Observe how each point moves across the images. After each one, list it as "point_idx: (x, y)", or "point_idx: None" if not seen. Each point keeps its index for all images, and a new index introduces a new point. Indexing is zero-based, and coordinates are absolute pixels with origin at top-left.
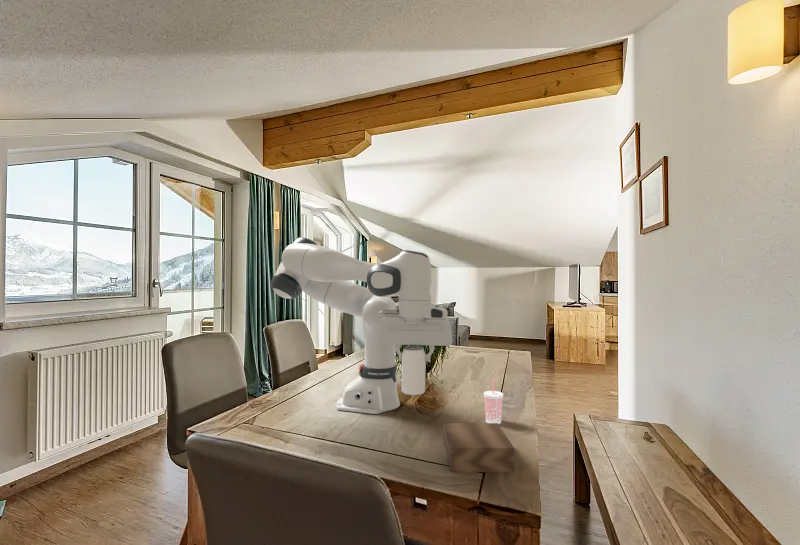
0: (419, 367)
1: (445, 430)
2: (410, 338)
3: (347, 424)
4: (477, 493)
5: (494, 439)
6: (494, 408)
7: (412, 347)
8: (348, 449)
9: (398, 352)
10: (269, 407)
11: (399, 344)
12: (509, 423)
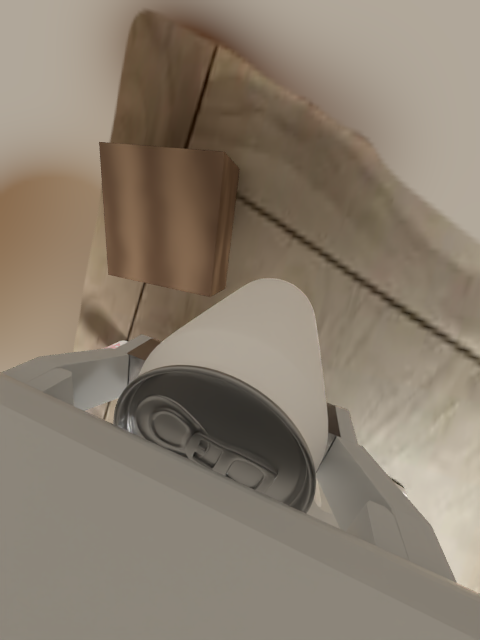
0: (222, 303)
1: (214, 259)
2: (185, 614)
3: (401, 418)
4: (212, 72)
5: (127, 191)
6: None
7: None
8: (434, 301)
9: (365, 465)
10: None
11: (399, 557)
12: (105, 339)
